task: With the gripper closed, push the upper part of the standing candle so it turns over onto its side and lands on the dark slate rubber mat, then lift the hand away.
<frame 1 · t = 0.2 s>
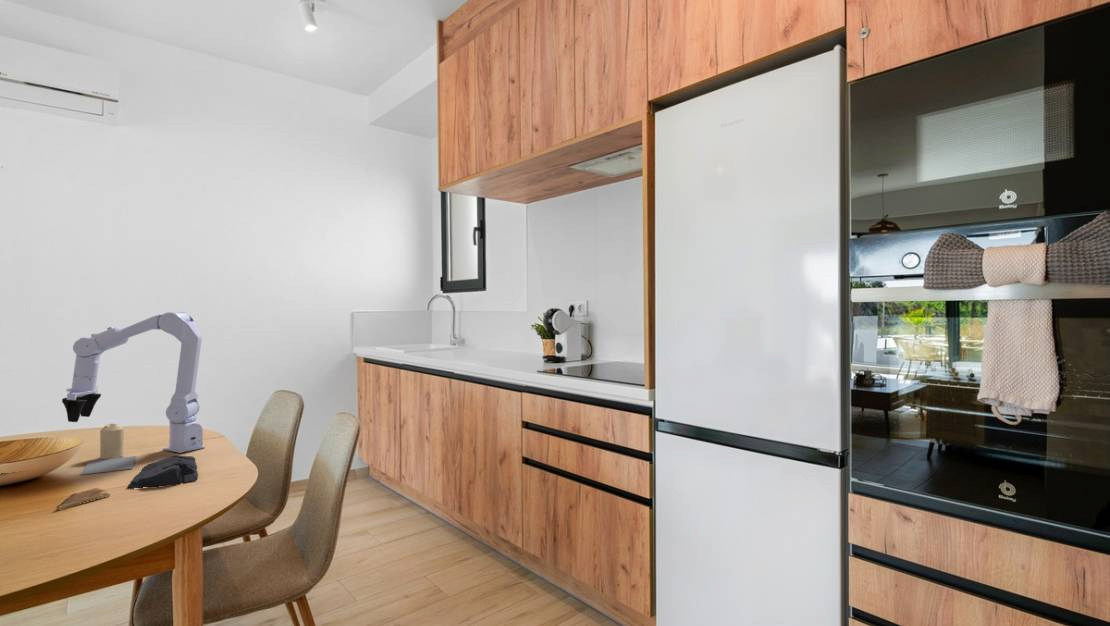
hand: (79, 419, 171), 11 cm above the table, tool pointing down, fingers open, 7 cm apart
dark slate chunk: (167, 477, 151), on the table
candle: (112, 457, 167), on the table
shard: (87, 503, 131), on the table
slate mat: (110, 465, 158), on the table
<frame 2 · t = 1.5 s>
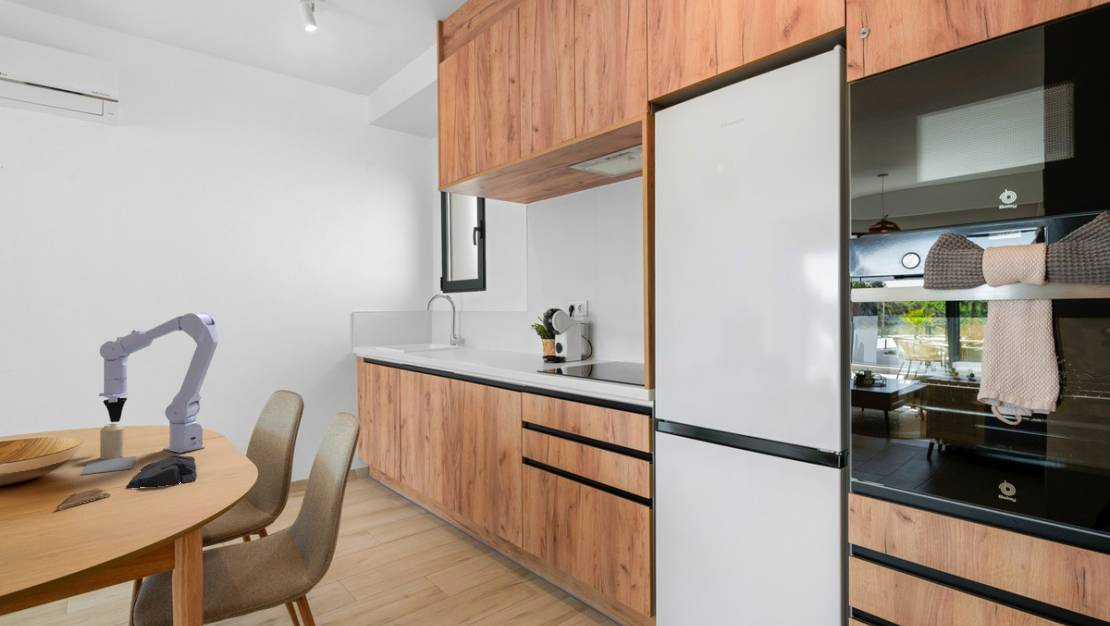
hand: (115, 421, 175), 9 cm above the table, tool pointing down, fingers closed
nothing on the table moved.
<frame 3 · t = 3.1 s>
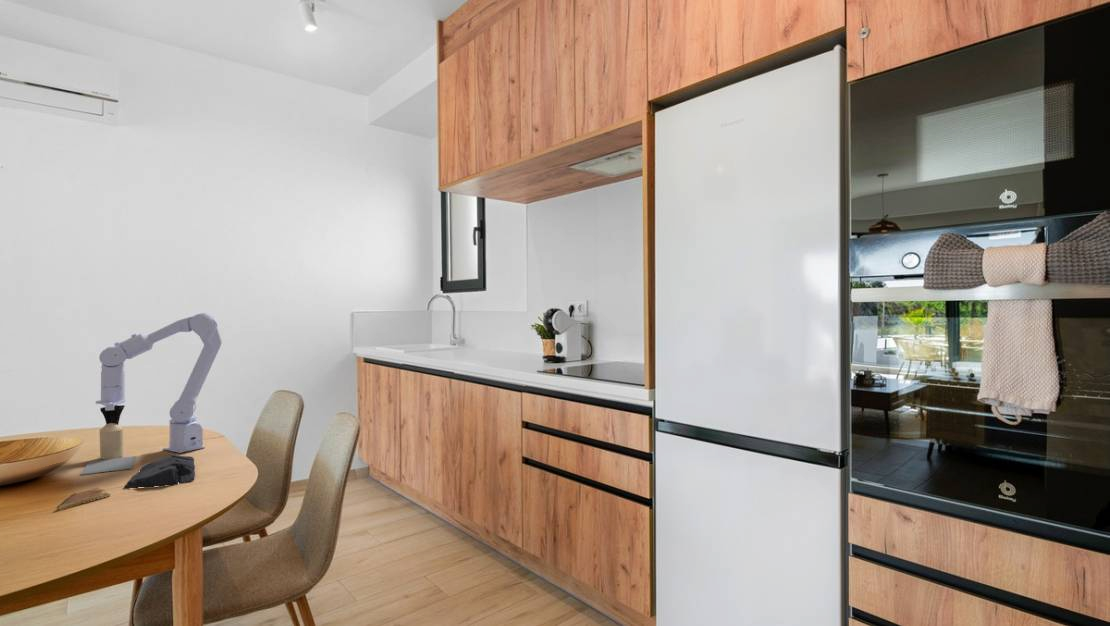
hand: (112, 430, 169), 8 cm above the table, tool pointing down, fingers closed
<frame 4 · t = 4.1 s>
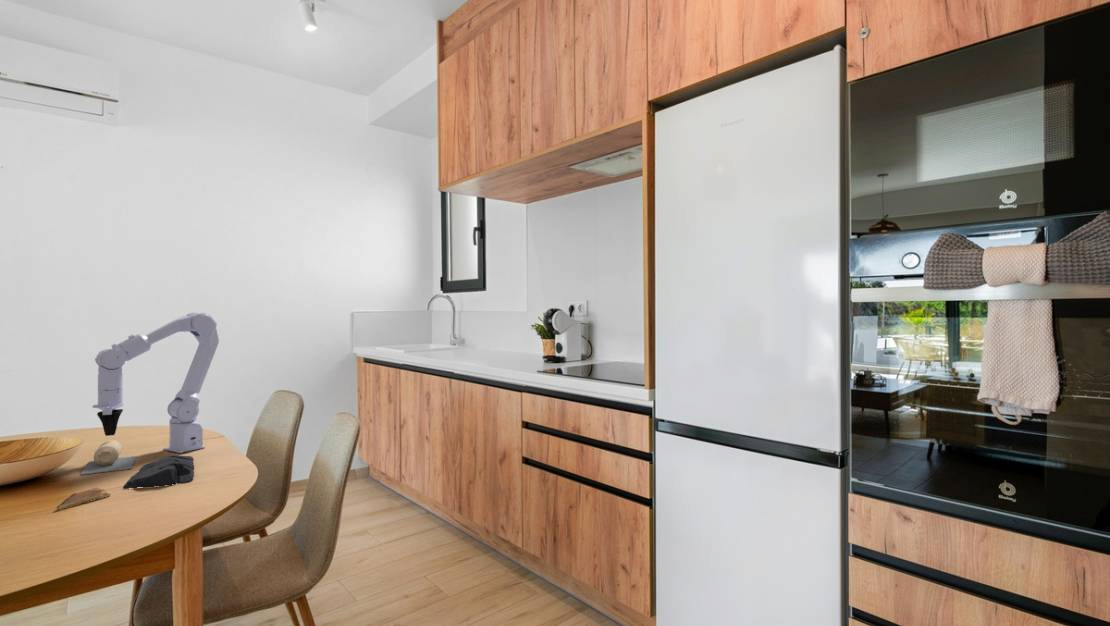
hand: (110, 435, 163), 8 cm above the table, tool pointing down, fingers closed
candle: (110, 448, 165), point 3 cm above the table, touching slate mat
everything else where it was.
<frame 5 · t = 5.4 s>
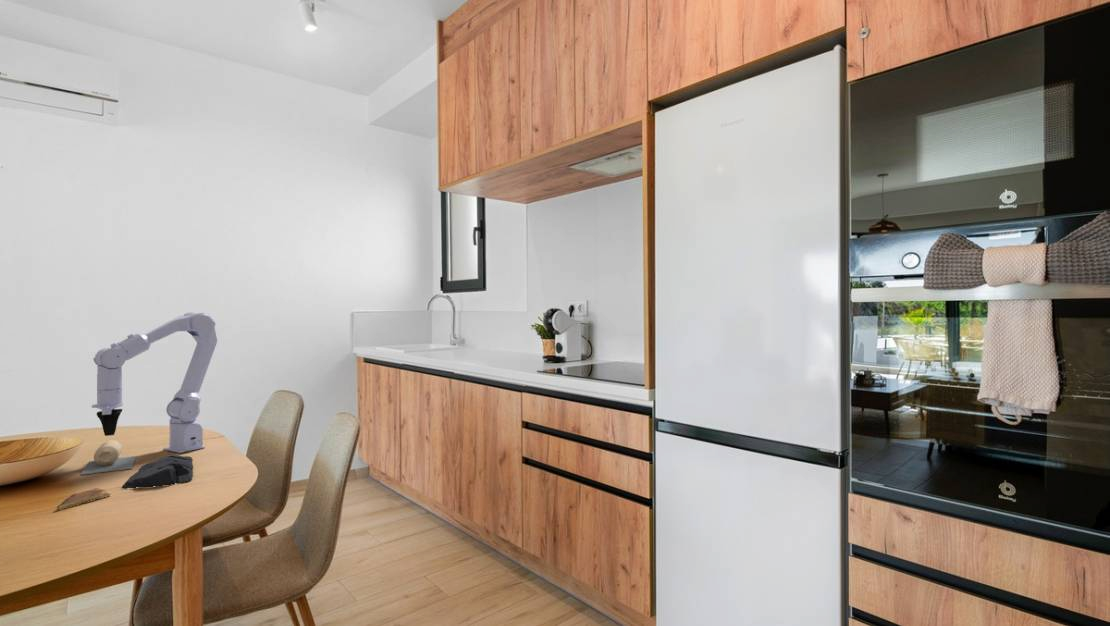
hand: (109, 435, 162), 8 cm above the table, tool pointing down, fingers closed
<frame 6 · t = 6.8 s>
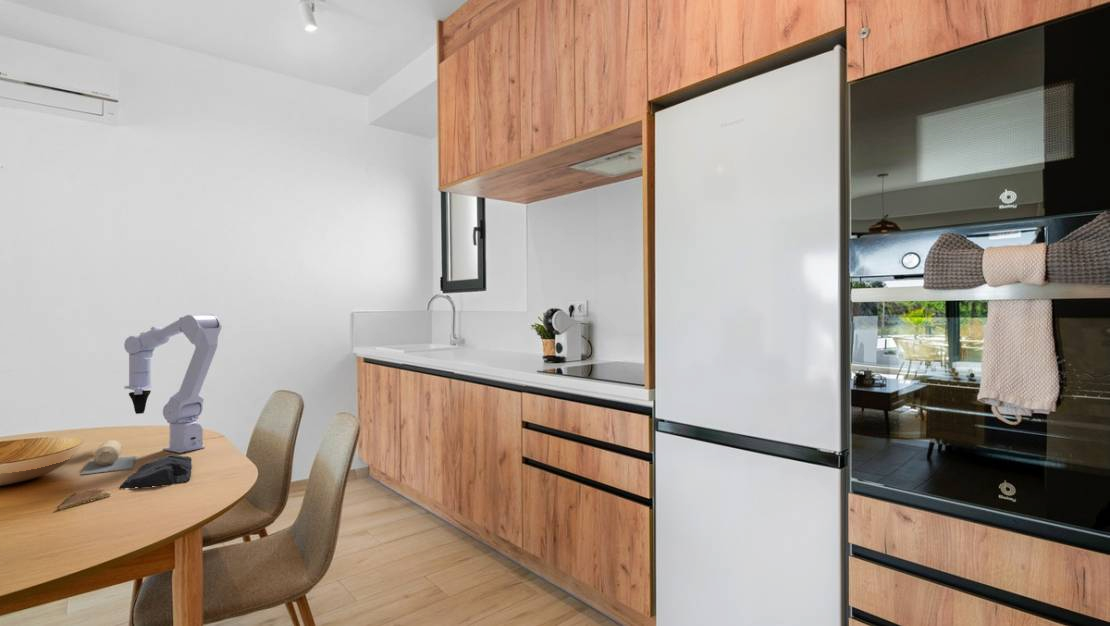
hand: (139, 413, 182), 10 cm above the table, tool pointing down, fingers closed
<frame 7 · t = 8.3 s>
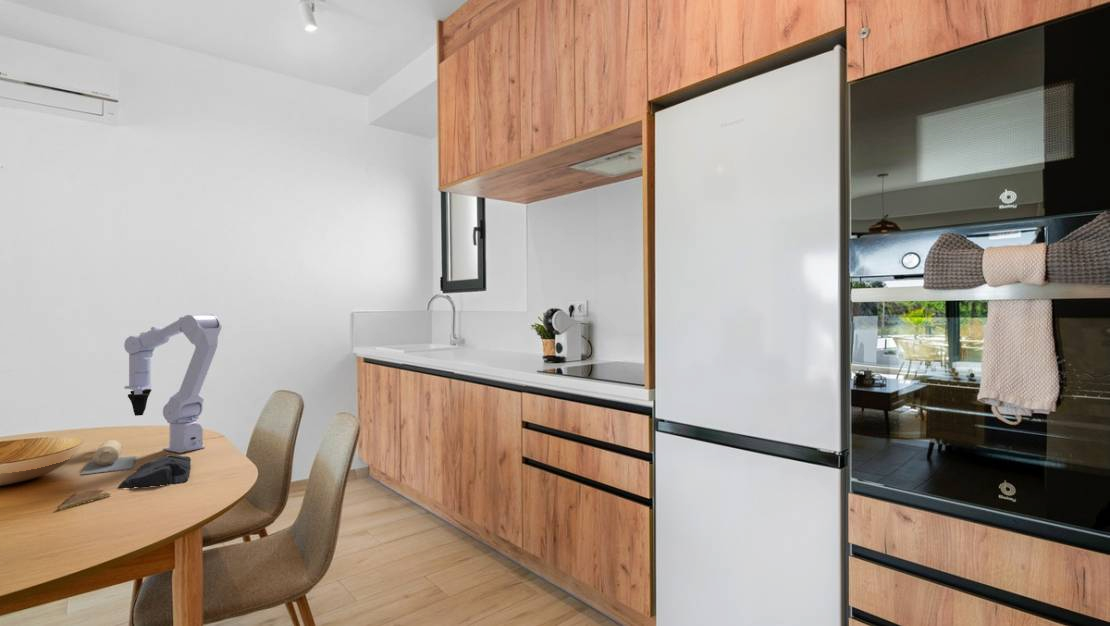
hand: (139, 413, 182), 10 cm above the table, tool pointing down, fingers open, 7 cm apart
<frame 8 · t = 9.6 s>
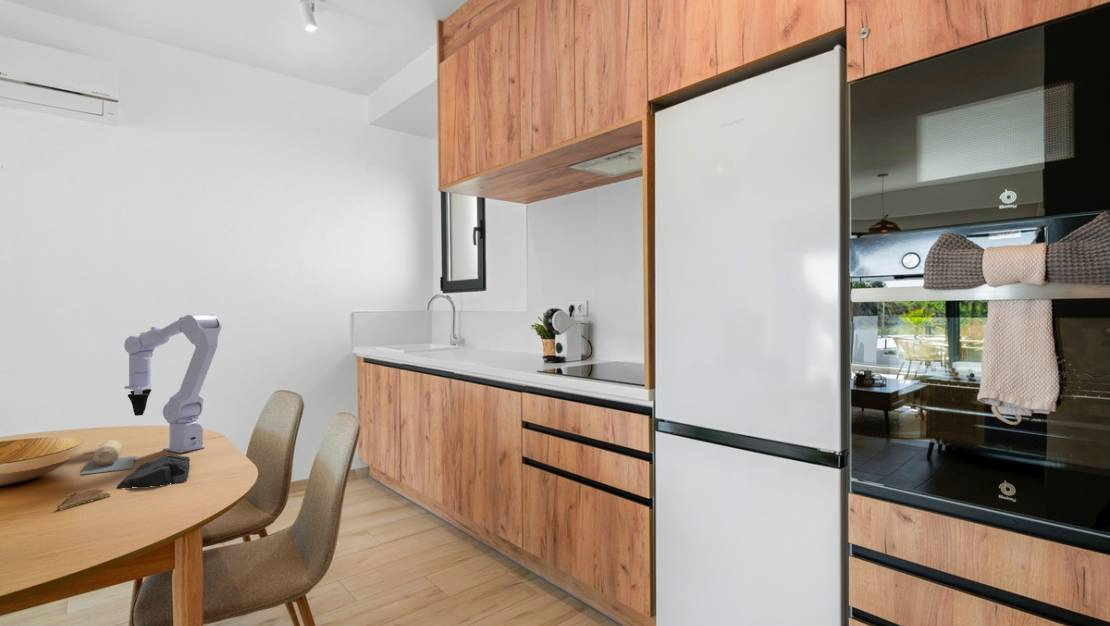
hand: (139, 413, 182), 10 cm above the table, tool pointing down, fingers open, 7 cm apart
at the end: candle tilted 90°; candle touching slate mat; the gripper is holding nothing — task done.
